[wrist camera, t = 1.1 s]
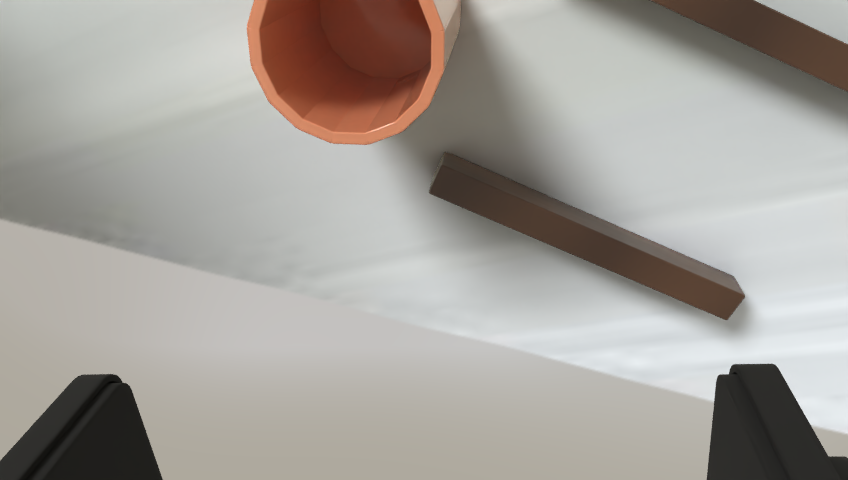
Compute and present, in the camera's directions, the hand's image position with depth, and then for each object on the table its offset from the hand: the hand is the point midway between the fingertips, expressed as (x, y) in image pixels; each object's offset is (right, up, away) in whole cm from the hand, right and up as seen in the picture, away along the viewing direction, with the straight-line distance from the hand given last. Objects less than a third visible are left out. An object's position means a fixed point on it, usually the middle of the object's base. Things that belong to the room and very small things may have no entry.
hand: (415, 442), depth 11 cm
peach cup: (-2, +14, +20) cm, 25 cm away
